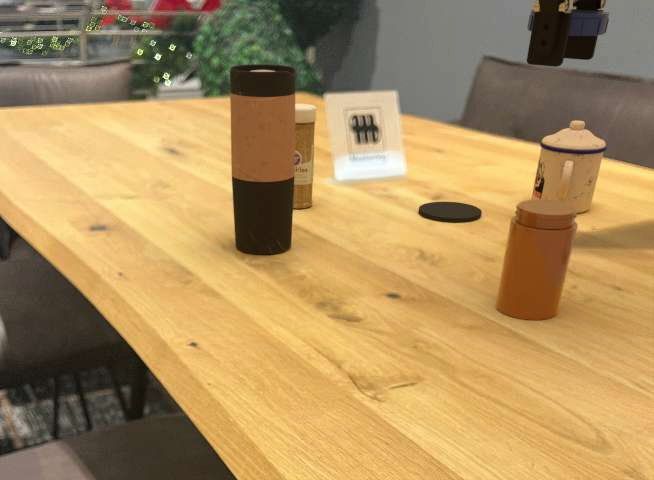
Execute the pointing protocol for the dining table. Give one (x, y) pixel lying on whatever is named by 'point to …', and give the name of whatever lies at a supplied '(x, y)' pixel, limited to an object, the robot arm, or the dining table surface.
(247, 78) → the travel mug
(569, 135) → the teacup with lid
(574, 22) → the lid
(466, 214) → the coaster
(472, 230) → the dining table surface
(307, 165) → the sprinkles bottle
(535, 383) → the dining table surface
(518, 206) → the jar
